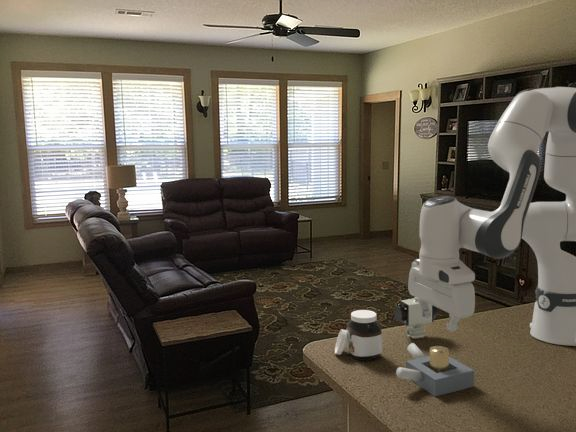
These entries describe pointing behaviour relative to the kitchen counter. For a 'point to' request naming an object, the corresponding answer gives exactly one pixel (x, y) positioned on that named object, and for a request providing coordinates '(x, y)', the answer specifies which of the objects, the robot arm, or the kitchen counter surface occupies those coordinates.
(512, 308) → the kitchen counter surface
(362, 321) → the spread jar
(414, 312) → the pneumatic valve
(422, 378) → the coupling block
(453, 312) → the robot arm
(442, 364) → the cylinder
